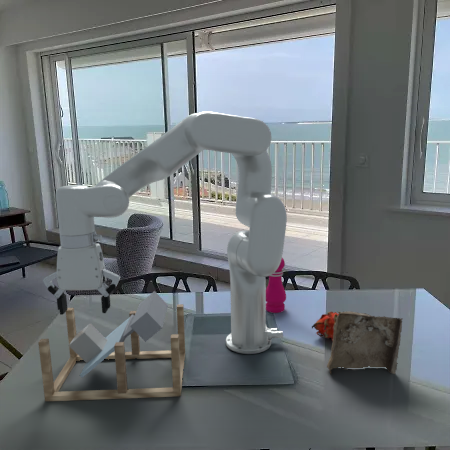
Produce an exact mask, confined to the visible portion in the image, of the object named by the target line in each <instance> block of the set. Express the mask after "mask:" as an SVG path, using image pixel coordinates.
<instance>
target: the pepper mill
mask: <svg viewBox="0 0 450 450" xmlns="http://www.w3.org/2000/svg"><path fill="white" fill-rule="evenodd" d="M285 265H286V263H285V259H284V258H283V257H282V259H281V262H280V265H279V267H278V269H277V270H276V271H275V272H274V273H273V274H272V275H270V276H268V284H267V285H266V312H268V313H271V314H278V313H283V312H285V309H286V308H285V307H286V305H285V302H286V300H287V294H286V290H285V287H284V285H283V281H282V279H283V278H282V276H283V275H284V270H283V269H284V268H285Z"/></svg>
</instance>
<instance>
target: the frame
mask: <svg viewBox="0 0 450 450" xmlns="http://www.w3.org/2000/svg"><path fill="white" fill-rule="evenodd" d="M67 308H68V309H67V311H66V312H65V316H66V317H65V319H66V328H67V339H68V345H69V344H70V343H71V341H72V340H73V338H74V337H75V336H76V335H77V334H78V333H77V325H76V316H75V308H74V307H67ZM136 311H137V310H130V311H129V314H128V315H129V316H128V318H129V317H130V316H131V315H132V314H133V315H134V316H135V313H136ZM176 319H177V322H176V323H177V333H175V334H173V333H172V334H171V335H170V350H148V351H145V350H144V351H143V350H142V351H141V346H140V343H141V342H140V336H139V335H138V334H137V333H136V332H135V331H134V332H132V333H131V334H130V345H131V351H126V350H125V349H126V348H125V341H124V342H116V343H115V345H114V350H115V351H114V352H112V353H111V354H110V355H109V356H108V357H106V358H105V359H108V360H107V361H110V360H109V359H115V360H114V362H115V375H116V386H117V387H116V388H117V389H100V390H99V389H98V390H97V389H96V390H73V391H71V390H69V391H60V390H61V388H62V387H63V384H64V382H66V380H67V378H68V376H69V375H70V373H71V372H72V370H73V368H74V366H75V365H76V363H77V362H81V361H80V360H83V359H82V358H81V357H80V356H79V355H78V354H77V353H76V352H75V351H74V350H73V349H72V348H70V347H69V346H68V350H69V358H68V360H67V361H66V362H65V365H64V366H63V367H62V369H61V370H60V371H59V374H58V375H57V376H56V377H55V379H54V374H53V365H52V355H51V346H50V339H49V338H41V339H39V341H38V350H39V352H38V353H39V359H40V368H41V378H42V385H43V392H44V393H43V394H44V401H45V402H62V401H63V402H67V401H69V402H70V401H89V400H112V399H113V400H117V399H118V400H119V399H138V398H139V399H140V398H141V399H143V398H145V399H147V398H165V397H166V398H169V397H172V398H174V397H181V396H182V390H183V389H182V387H183V380H182V378H183V379H184V371H183V369H184V370H185V362H184V361H186V360H185V359H186V335H185V334H186V333H185V311H184V303H183V304H179V303H178V304H176ZM135 358H137V359H135ZM167 358H169V359H170V358H171V374H172V378H171V379H172V386H171V387H149V388H147V387H146V388H128V376H127V364H126V363H127V361H126V360H138V359H167ZM76 361H77V362H76Z"/></svg>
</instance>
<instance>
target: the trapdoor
mask: <svg viewBox="0 0 450 450" xmlns="http://www.w3.org/2000/svg"><path fill="white" fill-rule="evenodd" d="M168 308H169V305H168V303H166V302H165V300H164V299H163V298H162V297H161V296H160V295H159V294H158V293H157V291H155V290H154V291H153V292H151V293H150V295H148V296H147V297H145V298H144V299H143V300H142V301H141V302H140V303H139V305H138V306H137V309H136V310H135V311H136V313H135V316H134V315H133V314H132V315H131V316H130V317H129V316H128V318H127V319H125V320H124V321H123V322H122V323H120V325H119V326H117V327H115V329H114V330H112V332H110V333H109V334H108V335H107V336H106V337H105V336H104V337H105V338H106V339H107V342H106V344H105V346H104V348H103V350H102V351H101V352H100V353H99V354H97V355H96V356H95V357H94V358H93V359H91V360H90V361H89V362H88V363H86V362H85V364H84V366H83V368H82V370H81V372H80V374H79V376H80V378H84V377H85V376H86V375H88V374H89V372H91V371H92V370H93V369H94V368H96V367H97V366H98V365H100V363H102V362H103V361H105V360H104V359H105V358H106V357H108V356H109V355H110V354H111V353H112V352H115V350H114V345H115V343H116V342H124V343H125V340H126V339H127V338H128V337H129V336H131V333H132V332H134V331H135V332H136V333H137V334H138V335H139V338H141V339H142V340H143V341H144V342H145V343H146V342H148V341H149V340H150V339H151V338H152V337H153V336H155V335H156V334H157V333H159V331H161V330H162V329H163V326H164V323H165V320H166V315H167V310H168Z"/></svg>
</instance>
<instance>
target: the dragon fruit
mask: <svg viewBox="0 0 450 450" xmlns="http://www.w3.org/2000/svg"><path fill="white" fill-rule="evenodd" d="M341 312H342V311H334V312H333V311H328V312H327V313H323V314H322V315H321V316H320V317H319V319H317V321H316V322H314V324H313V325H311V329H315V330H316V333H315V334H316V335H318V337H320V338H325V339H330V338H331V342H332V343H333V333H334V326H335V323H336V318H337V316H338V315H339V314H340V313H341Z"/></svg>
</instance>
